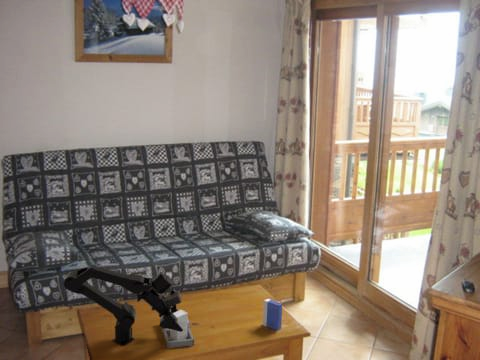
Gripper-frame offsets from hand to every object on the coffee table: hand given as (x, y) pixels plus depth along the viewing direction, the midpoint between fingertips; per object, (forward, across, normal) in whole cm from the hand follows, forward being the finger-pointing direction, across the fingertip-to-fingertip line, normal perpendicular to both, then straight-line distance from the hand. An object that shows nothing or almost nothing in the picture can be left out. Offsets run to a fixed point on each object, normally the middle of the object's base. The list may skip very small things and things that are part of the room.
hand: (182, 325), depth 237 cm
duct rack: (+3, +5, +6) cm, 8 cm away
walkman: (+32, +11, -22) cm, 41 cm away
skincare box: (+4, 0, +6) cm, 7 cm away
